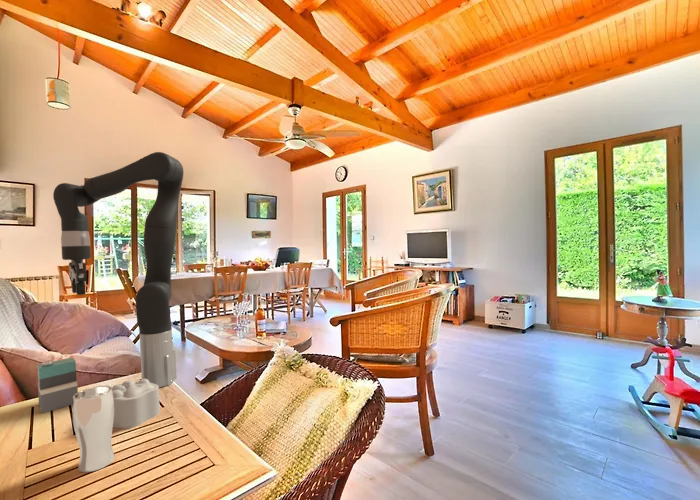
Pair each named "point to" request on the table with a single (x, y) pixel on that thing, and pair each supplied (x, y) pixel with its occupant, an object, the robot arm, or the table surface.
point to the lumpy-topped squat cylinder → (135, 403)
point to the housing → (56, 373)
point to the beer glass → (94, 427)
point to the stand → (57, 396)
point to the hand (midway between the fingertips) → (78, 293)
